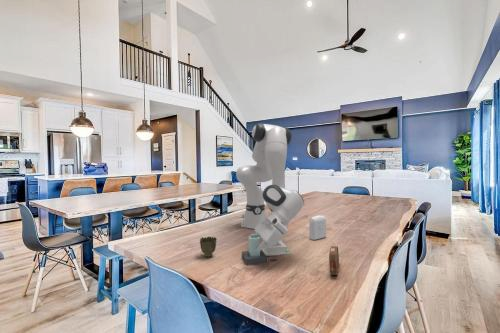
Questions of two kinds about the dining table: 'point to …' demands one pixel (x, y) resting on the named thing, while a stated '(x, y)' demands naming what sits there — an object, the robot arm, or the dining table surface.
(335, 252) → the tin
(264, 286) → the dining table surface
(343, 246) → the dining table surface
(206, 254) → the cup
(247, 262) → the holster
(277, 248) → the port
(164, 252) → the dining table surface
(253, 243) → the plug
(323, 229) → the photo printer
